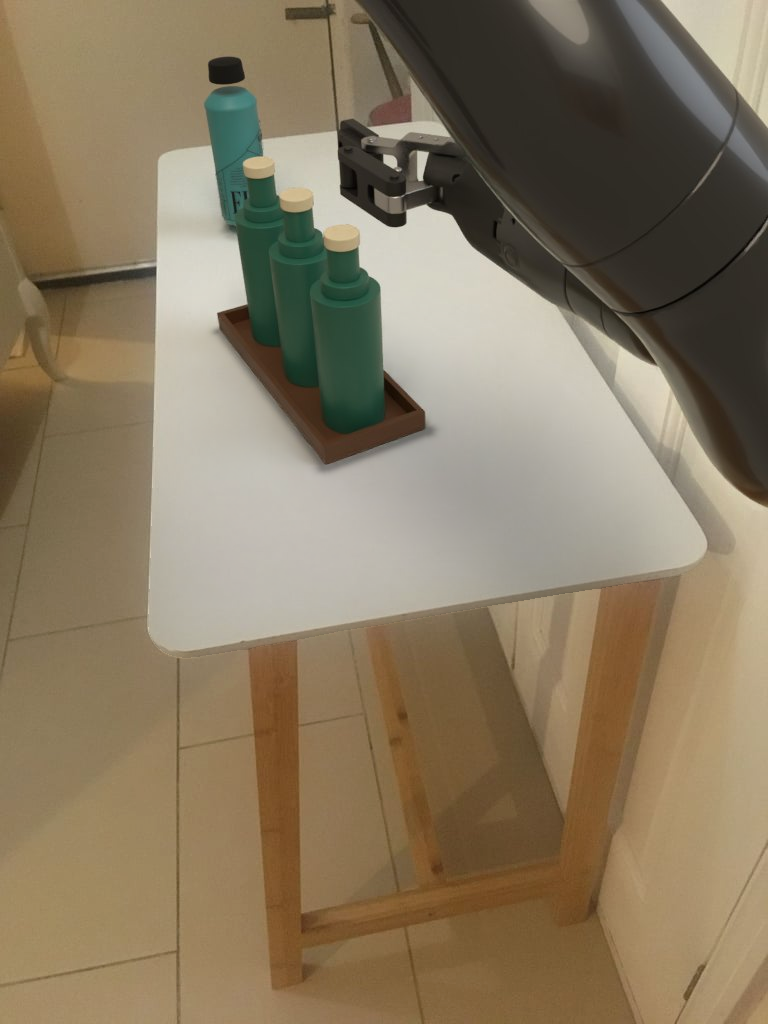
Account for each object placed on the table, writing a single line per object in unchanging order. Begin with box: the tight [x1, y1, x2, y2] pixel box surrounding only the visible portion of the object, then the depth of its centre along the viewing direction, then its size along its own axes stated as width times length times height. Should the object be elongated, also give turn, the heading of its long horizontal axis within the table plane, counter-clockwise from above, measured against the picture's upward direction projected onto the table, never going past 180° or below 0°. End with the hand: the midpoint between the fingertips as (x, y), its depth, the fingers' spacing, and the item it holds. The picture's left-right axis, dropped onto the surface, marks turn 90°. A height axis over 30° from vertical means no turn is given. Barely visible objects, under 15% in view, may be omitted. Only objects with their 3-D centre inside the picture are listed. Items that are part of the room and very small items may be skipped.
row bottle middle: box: [269, 187, 328, 387], centre depth 81 cm, size 6×6×18 cm
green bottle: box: [310, 224, 385, 434], centre depth 75 cm, size 6×6×18 cm
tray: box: [216, 303, 426, 465], centre depth 87 cm, size 27×10×2 cm, turn 28°
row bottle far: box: [234, 156, 285, 347], centre depth 87 cm, size 6×6×18 cm
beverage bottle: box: [203, 56, 265, 227], centre depth 106 cm, size 6×7×20 cm
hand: (406, 122), depth 54 cm, fingers open, 8 cm apart
